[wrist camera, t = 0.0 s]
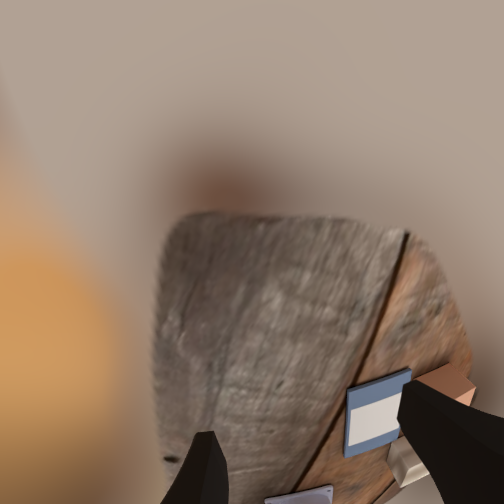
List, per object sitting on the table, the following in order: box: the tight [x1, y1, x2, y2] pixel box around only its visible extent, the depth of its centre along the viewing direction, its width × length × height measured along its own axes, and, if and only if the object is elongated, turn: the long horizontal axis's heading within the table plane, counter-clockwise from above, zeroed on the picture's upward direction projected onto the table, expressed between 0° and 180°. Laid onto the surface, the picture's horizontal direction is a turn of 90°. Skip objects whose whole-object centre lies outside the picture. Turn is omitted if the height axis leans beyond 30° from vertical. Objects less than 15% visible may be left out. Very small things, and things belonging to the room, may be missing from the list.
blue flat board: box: [343, 368, 412, 458], centre depth 22 cm, size 10×6×1 cm, turn 8°
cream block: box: [386, 436, 430, 488], centre depth 22 cm, size 4×4×4 cm
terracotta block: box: [413, 363, 476, 406], centre depth 20 cm, size 4×4×4 cm
